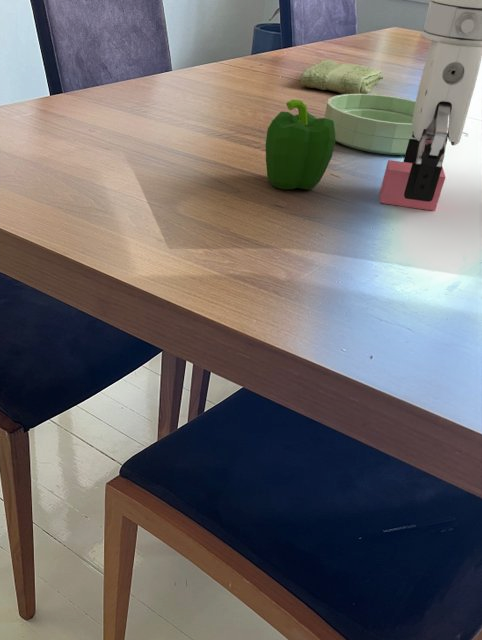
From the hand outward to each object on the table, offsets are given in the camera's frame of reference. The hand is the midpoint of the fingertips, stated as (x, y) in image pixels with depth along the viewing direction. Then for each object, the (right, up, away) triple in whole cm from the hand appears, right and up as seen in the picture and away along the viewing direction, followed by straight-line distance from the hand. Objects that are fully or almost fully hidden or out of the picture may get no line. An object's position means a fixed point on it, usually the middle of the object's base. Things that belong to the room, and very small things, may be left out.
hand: (415, 186), depth 88 cm
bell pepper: (-15, +1, +3) cm, 15 cm away
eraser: (-1, -1, +1) cm, 2 cm away
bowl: (+3, +15, +22) cm, 27 cm away
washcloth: (+4, +38, +51) cm, 64 cm away
